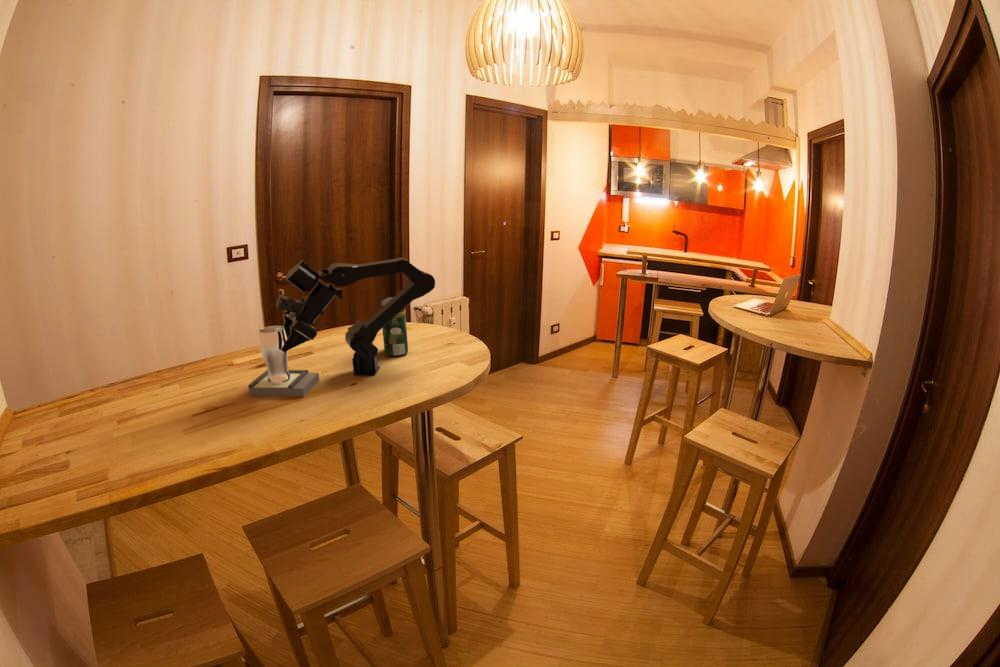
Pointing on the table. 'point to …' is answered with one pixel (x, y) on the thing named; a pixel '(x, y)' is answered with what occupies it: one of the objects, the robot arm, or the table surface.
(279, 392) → the dock
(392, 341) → the coffee jar
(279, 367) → the beer glass
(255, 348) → the table surface
